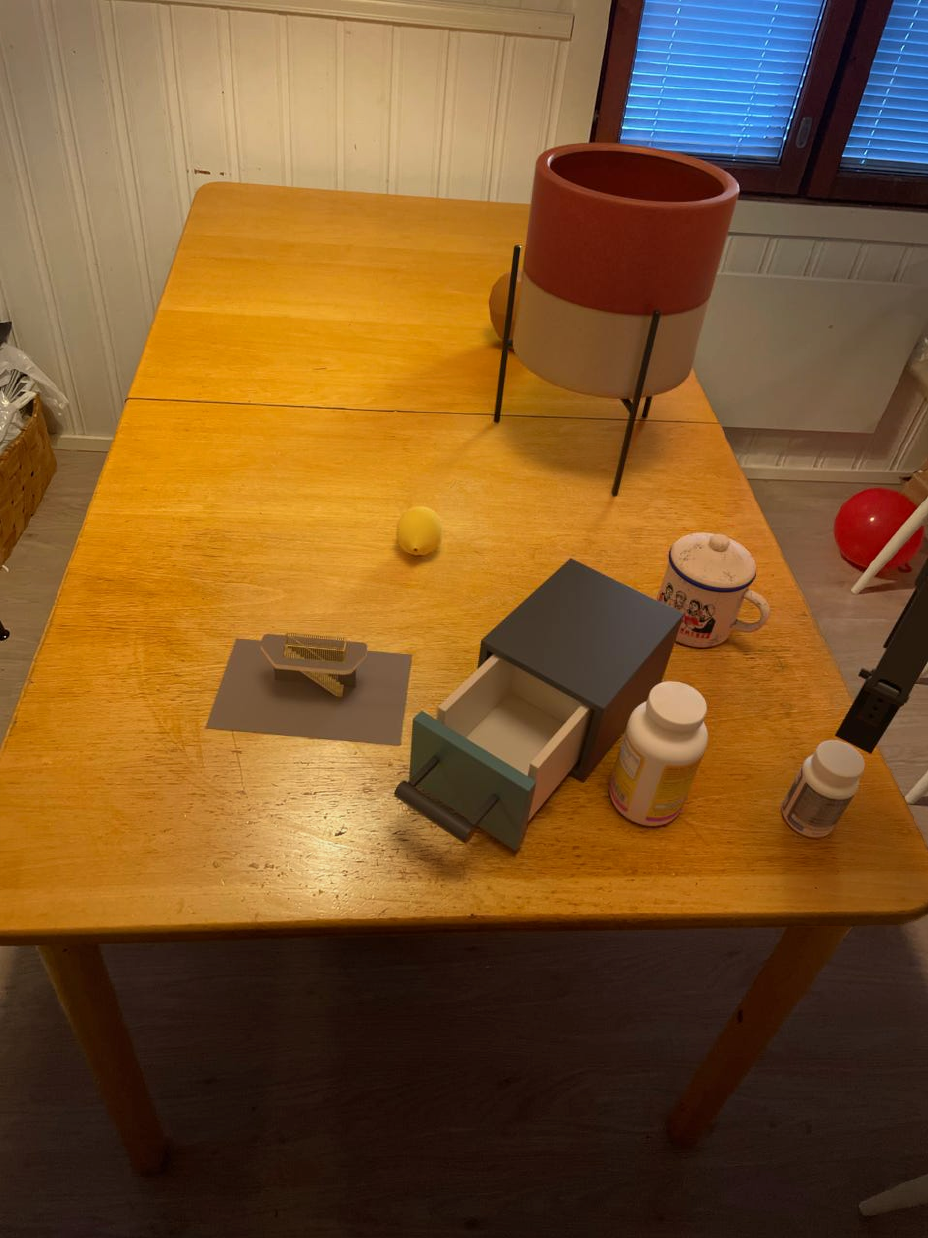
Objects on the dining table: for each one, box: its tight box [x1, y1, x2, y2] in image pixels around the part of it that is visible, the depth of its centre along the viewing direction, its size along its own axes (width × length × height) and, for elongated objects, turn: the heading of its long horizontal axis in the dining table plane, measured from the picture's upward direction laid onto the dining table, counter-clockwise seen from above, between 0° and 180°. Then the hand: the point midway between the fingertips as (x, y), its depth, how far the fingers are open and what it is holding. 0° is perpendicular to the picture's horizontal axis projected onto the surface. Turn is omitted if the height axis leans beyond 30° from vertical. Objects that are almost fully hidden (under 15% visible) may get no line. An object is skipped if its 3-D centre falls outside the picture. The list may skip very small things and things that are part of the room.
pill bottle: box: [781, 739, 866, 838], centre depth 76 cm, size 5×5×8 cm
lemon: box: [395, 505, 444, 556], centre depth 101 cm, size 7×5×5 cm
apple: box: [488, 268, 523, 351], centre depth 142 cm, size 13×13×11 cm
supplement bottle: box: [608, 680, 709, 827], centre depth 75 cm, size 7×7×13 cm
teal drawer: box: [393, 654, 595, 851], centre depth 75 cm, size 19×11×8 cm, turn 144°
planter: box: [493, 142, 740, 497], centre depth 112 cm, size 24×25×35 cm
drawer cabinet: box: [476, 557, 684, 783], centre depth 84 cm, size 16×13×10 cm
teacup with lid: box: [656, 532, 771, 648], centre depth 93 cm, size 12×9×12 cm
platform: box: [204, 631, 413, 746], centre depth 83 cm, size 12×18×7 cm, turn 87°
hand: (878, 694), depth 68 cm, fingers open, 11 cm apart
